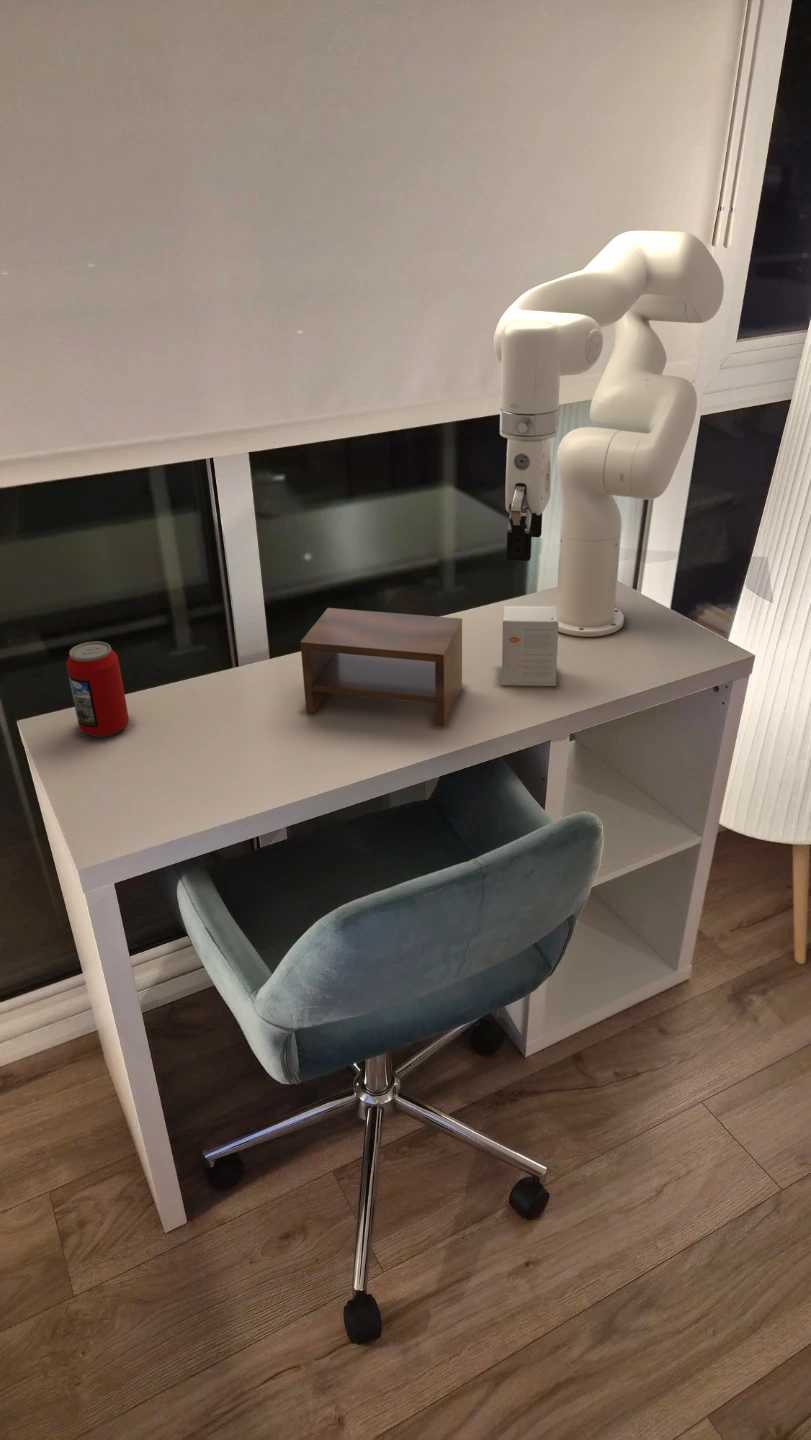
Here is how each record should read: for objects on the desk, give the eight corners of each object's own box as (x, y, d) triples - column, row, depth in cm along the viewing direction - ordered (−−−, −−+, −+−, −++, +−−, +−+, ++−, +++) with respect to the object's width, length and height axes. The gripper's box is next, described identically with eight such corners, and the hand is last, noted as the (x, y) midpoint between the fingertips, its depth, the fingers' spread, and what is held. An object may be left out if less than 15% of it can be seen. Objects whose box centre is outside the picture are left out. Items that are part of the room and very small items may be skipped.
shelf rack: (332, 675, 157) (327, 607, 151) (462, 687, 152) (462, 618, 147) (306, 712, 146) (300, 641, 141) (444, 727, 142) (443, 654, 136)
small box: (555, 670, 156) (558, 605, 151) (556, 687, 151) (559, 621, 146) (501, 668, 157) (503, 604, 152) (500, 685, 152) (502, 619, 147)
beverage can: (76, 722, 146) (60, 644, 140) (125, 712, 148) (111, 635, 142) (83, 744, 140) (67, 664, 134) (134, 733, 142) (119, 654, 137)
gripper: (548, 440, 127) (542, 571, 136) (565, 409, 142) (559, 529, 150) (487, 437, 129) (485, 567, 137) (511, 407, 144) (508, 526, 152)
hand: (524, 547), depth 144 cm, fingers open, 9 cm apart
